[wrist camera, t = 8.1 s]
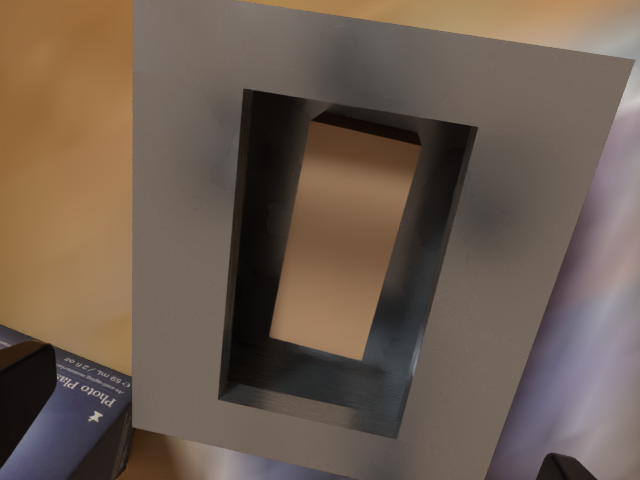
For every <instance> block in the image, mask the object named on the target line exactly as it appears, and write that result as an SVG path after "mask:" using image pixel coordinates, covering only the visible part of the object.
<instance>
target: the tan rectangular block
mask: <svg viewBox="0 0 640 480" xmlns="http://www.w3.org/2000/svg"><path fill="white" fill-rule="evenodd" d="M421 148H422V145H421V142H420V138H419V135H418V133H417V132H413V131H408V130H404V129H400V128H395V127H391V126H386V125H382V124H378V123H373V122H369V121H364V120H360V119H356V118H351V117H347V116H343V115H338V114H334V113H329V112H325V111H324V112H322V113H321V114H319V115H318V116H316V117H315V118H314V119H312V120H311V121H310V126H309V131H308V137H307V142H306V147H305V152H304V157H303V163H302V168H301V173H300V178H299V183H298V189H297V194H296V199H295V204H294V209H293V215H292V220H291V225H290V230H289V236H288V241H287V246H286V251H285V256H284V262H283V267H282V272H281V277H280V282H279V288H278V293H277V298H276V303H275V308H274V314H273V319H272V324H271V329H270V335H269V337H271V338H275V339H279V340H283V341H287V342H291V343H295V344H298V345H302V346H306V347H310V348H314V349H318V350H321V351H325V352H329V353H333V354H337V355H341V356H344V357H348V358H352V359H356V360H360V361H361V360H362V357H363V353H364V350H365V346H366V343H367V339H368V335H369V332H370V328H371V325H372V321H373V318H374V314H375V311H376V307H377V304H378V300H379V296H380V293H381V289H382V286H383V282H384V279H385V275H386V272H387V268H388V265H389V261H390V257H391V254H392V250H393V247H394V243H395V240H396V236H397V233H398V229H399V226H400V222H401V218H402V215H403V211H404V208H405V204H406V201H407V197H408V194H409V190H410V187H411V183H412V180H413V176H414V172H415V169H416V165H417V162H418V158H419V155H420V151H421Z"/></svg>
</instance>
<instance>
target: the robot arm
mask: <svg viewBox="0 0 640 480" xmlns="http://www.w3.org/2000/svg"><path fill="white" fill-rule="evenodd" d="M56 385H57V366H56V352H55V348H54V346H53V345H51V344H50V343H46V342H41V341H36V340H28V341H25V342H22V343H19V344H16V345H12V346H9V347H6V348H3V349H0V470H1V468H2V467H3V466H4V464H5V463H6V462H7V460H8V459H9V457H10V456H11V455H12V453H13V452H14V450H15V449H16V447H17V446H18V444H19V443H20V441H21V440H22V439H23V437H24V436H25V434H26V433H27V431H28V430H29V428H30V427H31V425H32V424H33V422H34V421H35V419H36V418H37V416H38V415H39V414H40V412H41V411H42V409H43V408H44V406H45V405H46V403H47V402H48V400H49V399H50V397H51V396H52V394H53V393H54V391H55V388H56ZM536 480H597V479H596V478H595V477H594V476H593V475H592V474H591V473H590V472H589V471H588V470H587V469H586V468H585V467H584V466H583V465H582V464H581V463H580V462H579V461H578V460H576V459H575V458H573V457H570V456H566V455H561V454H557V453H549V454H547V455H546V457H545V459H544V461H543V463H542V466H541V468H540V470H539V473H538V475H537V478H536Z"/></svg>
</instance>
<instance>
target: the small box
mask: <svg viewBox="0 0 640 480" xmlns="http://www.w3.org/2000/svg"><path fill="white" fill-rule="evenodd" d="M28 340H36V341H39V340H37V339H34V338H32V337H30V336H27V335H24V334H22V333H20V332H17V331H14V330H12V329H10V328H7V327H4V326H2V325H0V349H3V348H6V347H9V346H12V345H16V344H19V343H22V342H25V341H28ZM41 342H42V341H41ZM54 348H55V352H56V366H57V385H56V388H55V391H54V393H53V394H52V396H51V397H50V399H49V400H48V402H47V403H46V405H45V406H44V408H43V409H42V411H41V412H40V414H39V415H38V416H37V418H36V419H35V421H34V422H33V424H32V425H31V427H30V428H29V430H28V431H27V433H26V434H25V436H24V437H23V439H22V440H21V441H20V443H19V444H18V446H17V447H16V449H15V450H14V452H13V453H12V455H11V456H10V457H9V459H8V460H7V462H6V463H5V464H4V466H3V467H2V468H1V470H0V480H115V479H116V478H117V477H118V476H120V475H121V473H122V472H123V471H124V470H125V469H126V464H127V462H128V452H129V451H130V444H131V441H132V437H133V432H134V429H135V428H134V427H132V377H129V376H127V375H124V374H122V373H119V372H117V371H114V370H112V369H109V368H107V367H104V366H102V365H99V364H97V363H94V362H92V361H89V360H87V359H84V358H82V357H79V356H77V355H74V354H72V353H69V352H67V351H65V350H62V349H60V348H57V347H54Z"/></svg>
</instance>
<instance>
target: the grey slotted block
mask: <svg viewBox="0 0 640 480" xmlns="http://www.w3.org/2000/svg"><path fill="white" fill-rule="evenodd" d="M634 62H635V60H633V59H626V58H619V57H612V56H606V55H599V54H592V53H586V52H579V51H572V50H565V49H559V48H552V47H545V46H538V45H532V44H525V43H518V42H512V41H505V40H498V39H491V38H485V37H478V36H471V35H465V34H458V33H451V32H444V31H438V30H431V29H424V28H417V27H411V26H404V25H397V24H391V23H384V22H377V21H370V20H364V19H357V18H350V17H343V16H337V15H330V14H323V13H317V12H310V11H303V10H296V9H290V8H283V7H276V6H269V5H263V4H256V3H249V2H243V1H236V0H133V258H132V427H134V428H138V429H143V430H147V431H151V432H156V433H160V434H164V435H169V436H173V437H177V438H182V439H186V440H190V441H195V442H199V443H203V444H208V445H212V446H216V447H221V448H225V449H229V450H234V451H238V452H242V453H247V454H251V455H255V456H260V457H264V458H268V459H273V460H277V461H281V462H286V463H290V464H294V465H299V466H303V467H307V468H312V469H316V470H321V471H325V472H329V473H334V474H338V475H342V476H347V477H351V478H355V479H360V480H484V479H485V476H486V473H487V471H488V468H489V465H490V462H491V460H492V457H493V454H494V451H495V448H496V446H497V443H498V440H499V437H500V435H501V432H502V429H503V426H504V423H505V421H506V418H507V415H508V412H509V410H510V407H511V404H512V401H513V398H514V396H515V393H516V390H517V387H518V384H519V382H520V379H521V376H522V373H523V371H524V368H525V365H526V362H527V359H528V357H529V354H530V351H531V348H532V346H533V343H534V340H535V337H536V334H537V332H538V329H539V326H540V323H541V321H542V318H543V315H544V312H545V309H546V307H547V304H548V301H549V298H550V295H551V293H552V290H553V287H554V284H555V282H556V279H557V276H558V273H559V270H560V268H561V265H562V262H563V259H564V257H565V254H566V251H567V248H568V245H569V243H570V240H571V237H572V234H573V232H574V229H575V226H576V223H577V220H578V218H579V215H580V212H581V209H582V206H583V204H584V201H585V198H586V195H587V193H588V190H589V187H590V184H591V181H592V179H593V176H594V173H595V170H596V168H597V165H598V162H599V159H600V156H601V154H602V151H603V148H604V145H605V143H606V140H607V137H608V134H609V131H610V129H611V126H612V123H613V120H614V117H615V115H616V112H617V109H618V106H619V104H620V101H621V98H622V95H623V92H624V90H625V87H626V84H627V81H628V79H629V76H630V73H631V70H632V67H633V65H634ZM324 111H325V112H329V113H334V114H338V115H343V116H347V117H351V118H356V119H360V120H364V121H369V122H373V123H378V124H382V125H386V126H391V127H395V128H400V129H404V130H408V131H413V132H417V133H418V135H419V138H420V142H421V145H422V148H421V151H420V155H419V158H418V162H417V165H416V169H415V172H414V176H413V180H412V183H411V187H410V190H409V194H408V197H407V201H406V204H405V208H404V211H403V215H402V218H401V222H400V226H399V229H398V233H397V236H396V240H395V243H394V247H393V250H392V254H391V257H390V261H389V265H388V268H387V272H386V275H385V279H384V282H383V286H382V289H381V293H380V296H379V300H378V304H377V307H376V311H375V314H374V318H373V321H372V325H371V328H370V332H369V335H368V339H367V343H366V346H365V350H364V353H363V357H362V360H361V361H360V360H356V359H352V358H348V357H344V356H341V355H337V354H333V353H329V352H325V351H321V350H318V349H314V348H310V347H306V346H302V345H298V344H295V343H291V342H287V341H283V340H279V339H275V338H271V337H269V335H270V329H271V324H272V319H273V314H274V308H275V303H276V298H277V293H278V288H279V282H280V277H281V272H282V267H283V262H284V256H285V251H286V246H287V241H288V236H289V230H290V225H291V220H292V215H293V209H294V204H295V199H296V194H297V189H298V183H299V178H300V173H301V168H302V163H303V157H304V152H305V147H306V142H307V137H308V131H309V126H310V121H311V120H312V119H314V118H315V117H316V116H318V115H319V114H321V113H322V112H324Z"/></svg>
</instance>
